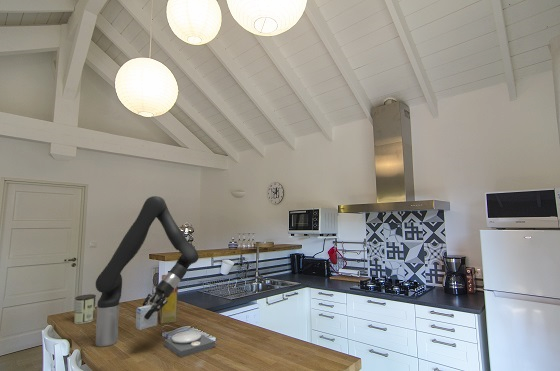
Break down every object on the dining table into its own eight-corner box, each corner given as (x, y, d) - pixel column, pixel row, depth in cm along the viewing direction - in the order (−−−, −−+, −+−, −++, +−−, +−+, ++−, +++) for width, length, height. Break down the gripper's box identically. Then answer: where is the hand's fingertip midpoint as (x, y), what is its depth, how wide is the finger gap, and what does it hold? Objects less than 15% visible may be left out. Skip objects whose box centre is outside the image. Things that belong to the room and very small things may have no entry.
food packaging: (177, 321, 179) (178, 277, 182) (159, 324, 175) (161, 278, 178) (176, 315, 191) (177, 273, 194) (159, 317, 188) (160, 274, 191)
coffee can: (82, 318, 188) (83, 294, 190) (98, 318, 187) (99, 294, 189) (69, 323, 178) (70, 298, 179) (86, 324, 177) (87, 298, 178)
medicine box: (152, 323, 143) (153, 304, 144) (157, 325, 140) (158, 305, 141) (135, 328, 137) (136, 307, 138) (140, 330, 134) (140, 309, 135)
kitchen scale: (164, 345, 145) (164, 336, 145) (196, 336, 155) (196, 328, 156) (180, 357, 131) (181, 347, 132) (214, 347, 142) (214, 337, 142)
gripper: (155, 278, 151) (129, 309, 140) (172, 281, 142) (145, 315, 131) (164, 287, 154) (140, 319, 144) (181, 291, 146) (156, 325, 135)
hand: (142, 317), depth 138 cm, fingers closed on medicine box, 4 cm apart
